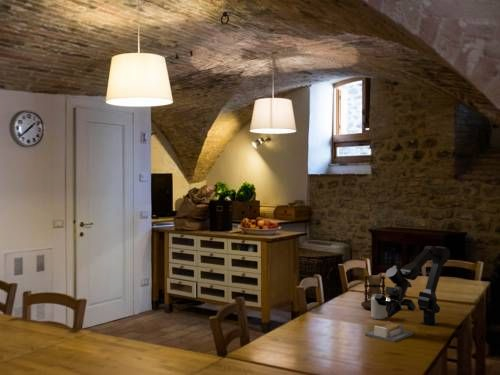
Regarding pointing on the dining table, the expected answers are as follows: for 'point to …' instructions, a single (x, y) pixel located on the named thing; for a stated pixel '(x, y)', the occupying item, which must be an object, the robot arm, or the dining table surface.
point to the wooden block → (391, 326)
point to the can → (377, 309)
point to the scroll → (373, 288)
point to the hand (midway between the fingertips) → (388, 317)
